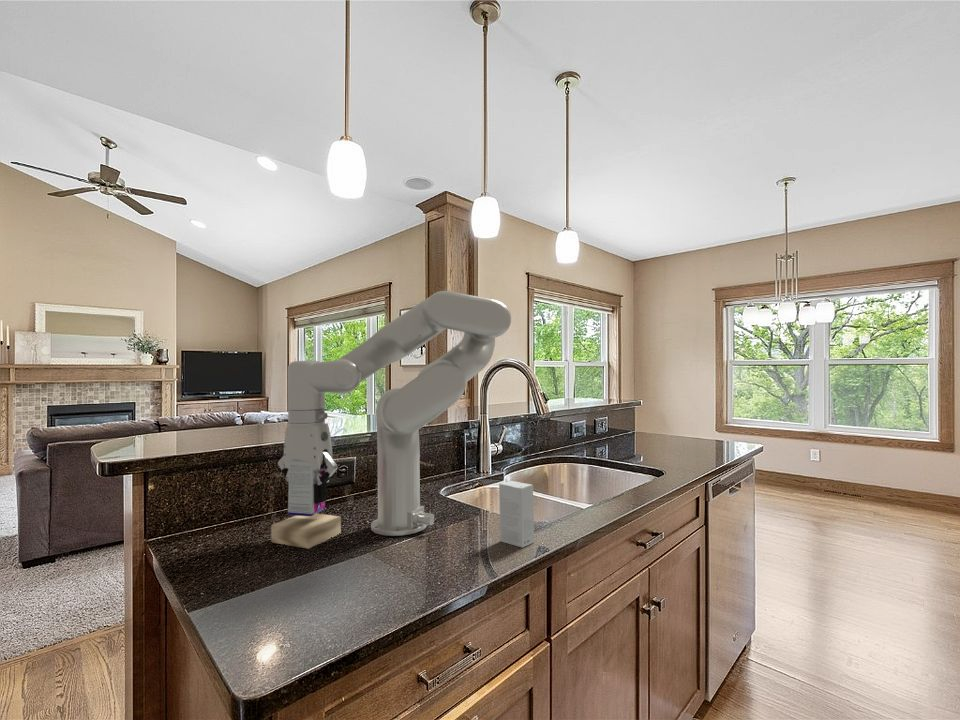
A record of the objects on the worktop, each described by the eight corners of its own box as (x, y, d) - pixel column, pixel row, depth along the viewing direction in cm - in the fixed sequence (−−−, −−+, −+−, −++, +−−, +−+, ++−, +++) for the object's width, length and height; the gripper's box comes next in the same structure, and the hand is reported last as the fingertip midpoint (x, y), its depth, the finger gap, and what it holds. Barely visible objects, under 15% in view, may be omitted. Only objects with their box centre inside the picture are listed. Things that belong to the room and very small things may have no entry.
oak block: (340, 534, 108) (340, 516, 108) (308, 550, 99) (308, 530, 99) (305, 529, 112) (305, 511, 112) (271, 543, 103) (271, 524, 103)
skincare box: (534, 542, 101) (534, 484, 101) (522, 548, 98) (521, 488, 98) (512, 536, 105) (511, 480, 105) (499, 541, 102) (498, 483, 102)
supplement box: (312, 516, 102) (312, 461, 102) (287, 515, 104) (286, 461, 104) (326, 508, 108) (326, 456, 108) (302, 507, 109) (302, 456, 109)
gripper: (350, 417, 106) (351, 500, 106) (289, 415, 113) (290, 492, 113) (326, 420, 99) (327, 509, 99) (263, 418, 106) (263, 501, 106)
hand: (307, 499), depth 106 cm, fingers closed on supplement box, 6 cm apart
